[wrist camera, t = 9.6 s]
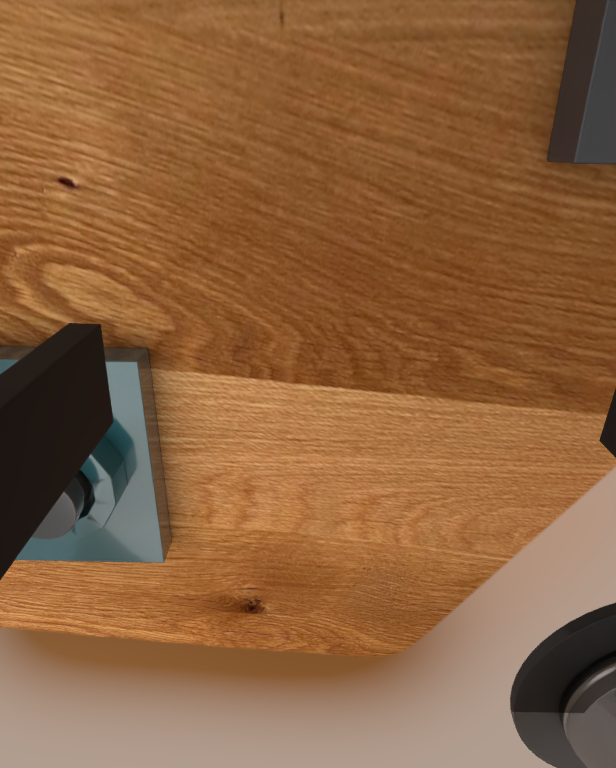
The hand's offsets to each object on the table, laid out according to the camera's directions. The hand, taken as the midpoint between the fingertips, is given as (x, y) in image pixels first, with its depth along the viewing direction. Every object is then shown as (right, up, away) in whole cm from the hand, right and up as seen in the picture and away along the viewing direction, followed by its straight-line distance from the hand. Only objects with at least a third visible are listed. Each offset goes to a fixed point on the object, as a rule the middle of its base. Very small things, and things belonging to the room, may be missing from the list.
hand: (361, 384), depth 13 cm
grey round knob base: (-16, -4, +19) cm, 25 cm away
